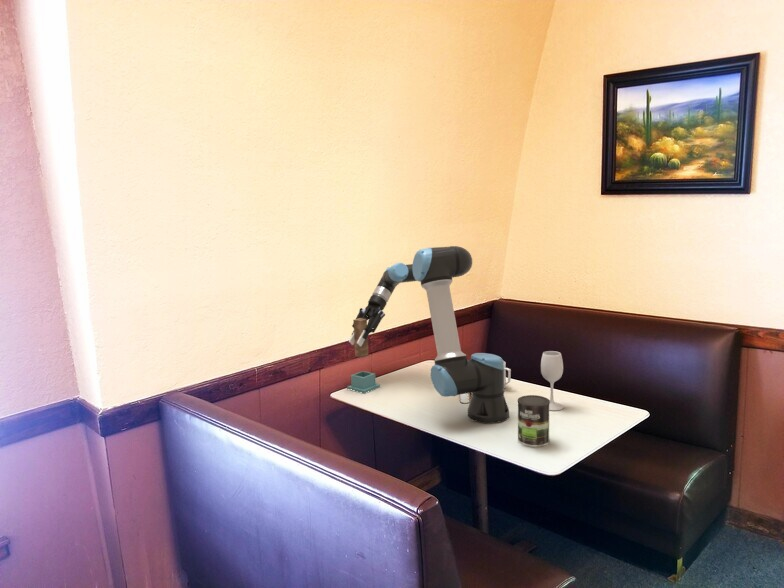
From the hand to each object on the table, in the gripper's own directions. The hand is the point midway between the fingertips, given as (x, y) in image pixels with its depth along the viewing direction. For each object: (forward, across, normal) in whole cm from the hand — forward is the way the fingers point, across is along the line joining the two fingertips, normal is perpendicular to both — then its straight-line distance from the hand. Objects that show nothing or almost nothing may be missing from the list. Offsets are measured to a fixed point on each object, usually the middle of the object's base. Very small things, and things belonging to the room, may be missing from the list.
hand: (354, 343), depth 254 cm
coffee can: (+17, -85, -12) cm, 88 cm away
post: (+2, 0, -7) cm, 7 cm away
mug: (-10, -48, -39) cm, 63 cm away
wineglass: (-5, -76, -34) cm, 83 cm away
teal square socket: (+12, 0, -17) cm, 21 cm away
